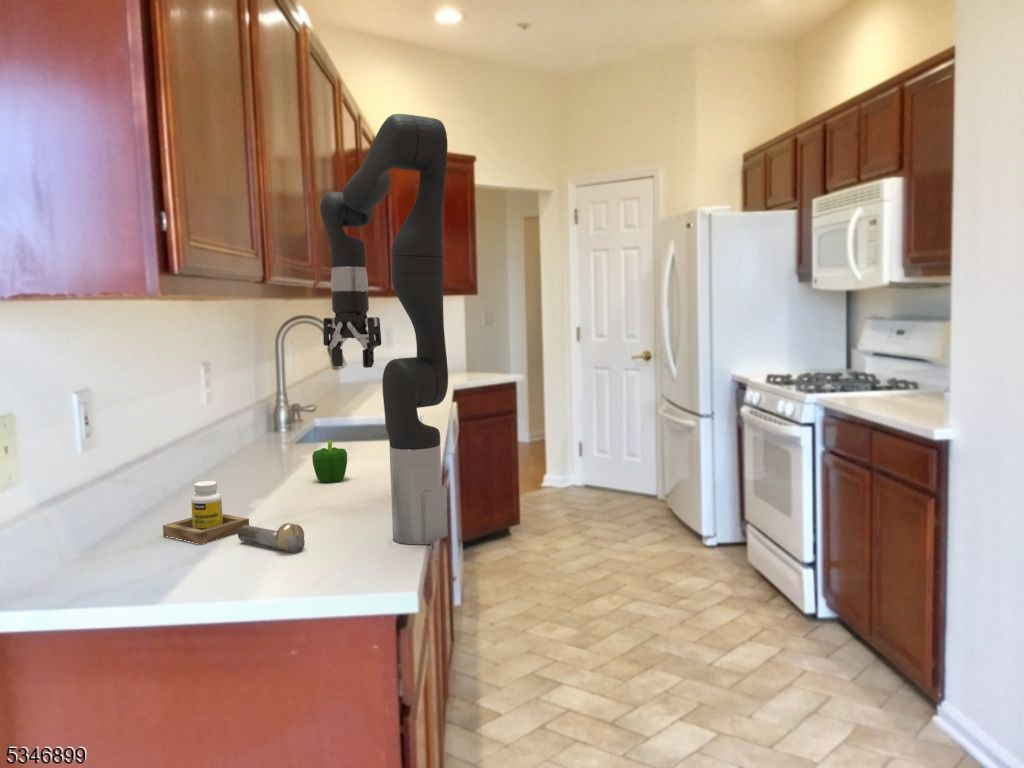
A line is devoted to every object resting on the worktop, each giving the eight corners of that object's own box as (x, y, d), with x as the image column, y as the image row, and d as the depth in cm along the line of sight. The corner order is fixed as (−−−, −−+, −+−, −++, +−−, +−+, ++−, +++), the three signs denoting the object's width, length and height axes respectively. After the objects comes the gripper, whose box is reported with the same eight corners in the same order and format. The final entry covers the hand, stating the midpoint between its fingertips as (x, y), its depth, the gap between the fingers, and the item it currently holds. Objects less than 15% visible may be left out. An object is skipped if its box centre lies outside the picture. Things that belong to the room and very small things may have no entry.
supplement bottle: (191, 538, 147) (188, 487, 146) (195, 530, 152) (192, 481, 151) (222, 535, 148) (218, 484, 147) (224, 528, 154) (221, 478, 153)
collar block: (249, 529, 152) (248, 518, 152) (200, 544, 143) (199, 533, 142) (212, 522, 158) (212, 511, 158) (163, 536, 148) (162, 525, 148)
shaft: (308, 548, 139) (307, 522, 138) (288, 556, 135) (286, 529, 134) (255, 537, 146) (254, 512, 146) (234, 544, 142) (232, 518, 142)
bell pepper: (340, 485, 190) (338, 444, 189) (308, 484, 191) (306, 443, 190) (353, 477, 198) (352, 438, 197) (323, 476, 199) (321, 438, 198)
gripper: (312, 290, 164) (315, 367, 166) (362, 288, 157) (366, 369, 158) (337, 290, 171) (341, 365, 172) (387, 288, 163) (390, 366, 165)
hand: (353, 366), depth 165 cm, fingers open, 8 cm apart
